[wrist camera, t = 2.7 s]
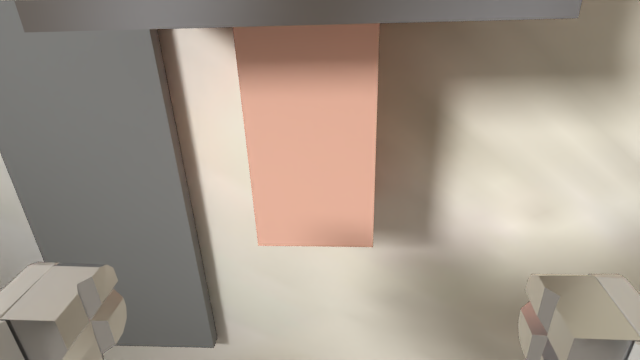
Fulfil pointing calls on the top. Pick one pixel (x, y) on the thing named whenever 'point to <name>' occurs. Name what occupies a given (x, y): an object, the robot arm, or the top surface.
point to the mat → (105, 170)
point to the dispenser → (272, 12)
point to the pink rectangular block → (310, 131)
